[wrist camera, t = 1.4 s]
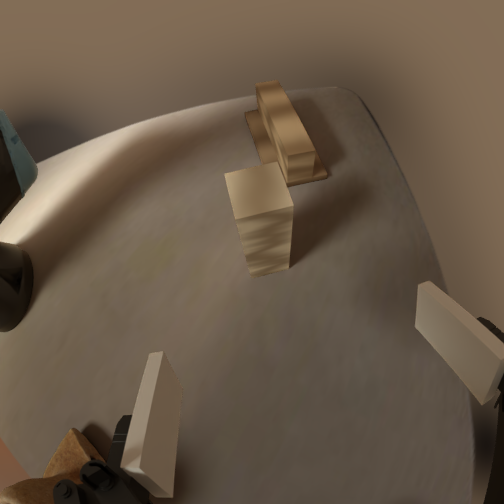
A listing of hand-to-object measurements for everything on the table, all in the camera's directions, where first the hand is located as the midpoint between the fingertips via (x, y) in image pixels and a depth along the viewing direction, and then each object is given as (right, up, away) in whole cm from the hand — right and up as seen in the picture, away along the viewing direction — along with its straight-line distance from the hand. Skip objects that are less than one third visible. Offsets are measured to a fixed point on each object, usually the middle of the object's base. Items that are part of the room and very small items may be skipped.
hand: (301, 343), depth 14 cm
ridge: (+2, +21, +29) cm, 36 cm away
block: (-1, +4, +22) cm, 22 cm away
